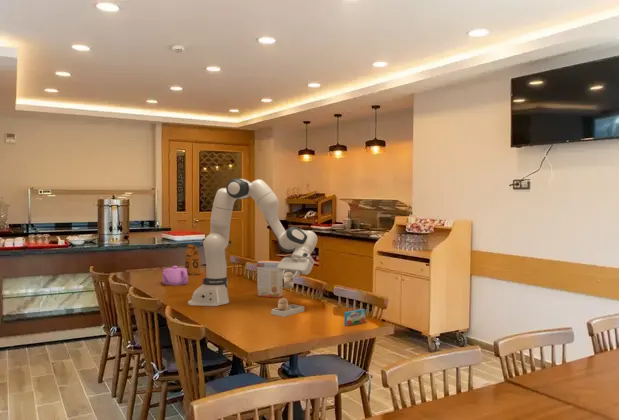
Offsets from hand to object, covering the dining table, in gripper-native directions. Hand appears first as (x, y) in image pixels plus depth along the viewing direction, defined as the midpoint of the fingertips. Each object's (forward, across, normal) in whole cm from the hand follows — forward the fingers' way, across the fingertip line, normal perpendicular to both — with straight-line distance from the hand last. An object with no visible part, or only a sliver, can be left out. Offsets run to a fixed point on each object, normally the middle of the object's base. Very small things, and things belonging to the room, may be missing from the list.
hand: (287, 278), depth 261 cm
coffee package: (-22, -137, +45) cm, 146 cm away
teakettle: (+3, -112, +20) cm, 114 cm away
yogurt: (+12, +40, +14) cm, 44 cm away
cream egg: (+3, 0, +4) cm, 5 cm away
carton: (+15, +3, +9) cm, 18 cm away
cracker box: (-4, -34, +28) cm, 44 cm away
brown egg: (+17, +3, +6) cm, 18 cm away
